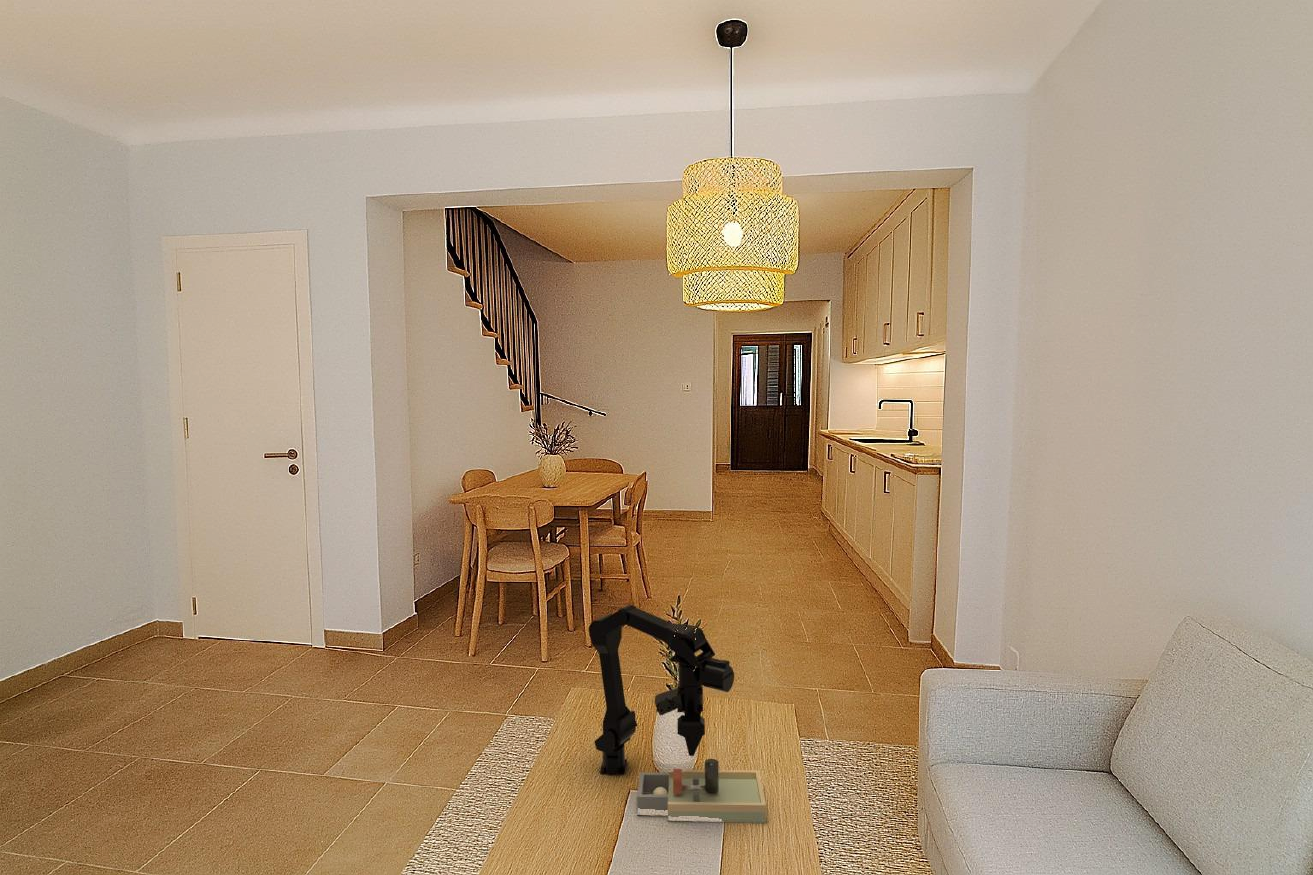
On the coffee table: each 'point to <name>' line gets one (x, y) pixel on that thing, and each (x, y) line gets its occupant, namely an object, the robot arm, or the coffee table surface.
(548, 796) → the coffee table surface
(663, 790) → the ball
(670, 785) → the tray
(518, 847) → the coffee table surface
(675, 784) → the kicker
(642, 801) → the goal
